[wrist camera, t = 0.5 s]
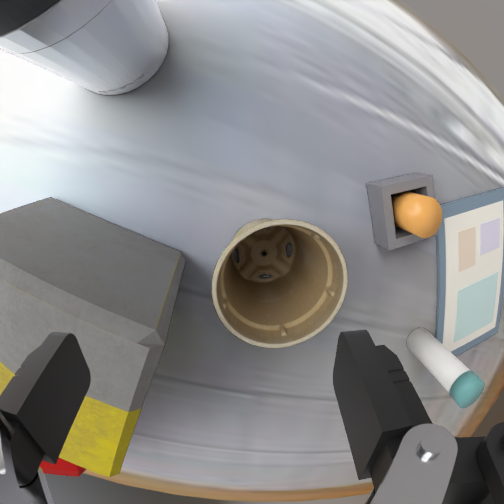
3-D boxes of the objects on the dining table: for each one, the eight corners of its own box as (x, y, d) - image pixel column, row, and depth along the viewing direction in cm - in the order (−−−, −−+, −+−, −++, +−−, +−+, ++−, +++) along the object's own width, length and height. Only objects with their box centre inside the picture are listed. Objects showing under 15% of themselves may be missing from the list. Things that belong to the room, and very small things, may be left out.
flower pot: (328, 269, 31) (365, 308, 23) (243, 315, 31) (253, 368, 23) (286, 182, 28) (315, 193, 20) (193, 233, 28) (184, 265, 20)
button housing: (365, 183, 29) (380, 186, 26) (415, 172, 29) (432, 175, 26) (374, 242, 31) (388, 250, 28) (421, 228, 31) (437, 235, 28)
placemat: (433, 206, 30) (437, 207, 30) (503, 187, 31) (507, 187, 30) (432, 365, 37) (435, 367, 36) (495, 330, 37) (498, 332, 37)
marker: (405, 332, 34) (462, 390, 23) (428, 322, 35) (487, 375, 23) (405, 353, 36) (456, 413, 24) (427, 344, 36) (480, 398, 24)
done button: (385, 194, 28) (408, 201, 24) (415, 187, 28) (440, 193, 24) (390, 231, 29) (412, 242, 25) (419, 223, 29) (443, 232, 25)
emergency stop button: (23, 376, 31) (-27, 455, 17) (48, 193, 26) (-59, 229, 11) (126, 423, 34) (105, 519, 20) (188, 252, 29) (167, 342, 15)
